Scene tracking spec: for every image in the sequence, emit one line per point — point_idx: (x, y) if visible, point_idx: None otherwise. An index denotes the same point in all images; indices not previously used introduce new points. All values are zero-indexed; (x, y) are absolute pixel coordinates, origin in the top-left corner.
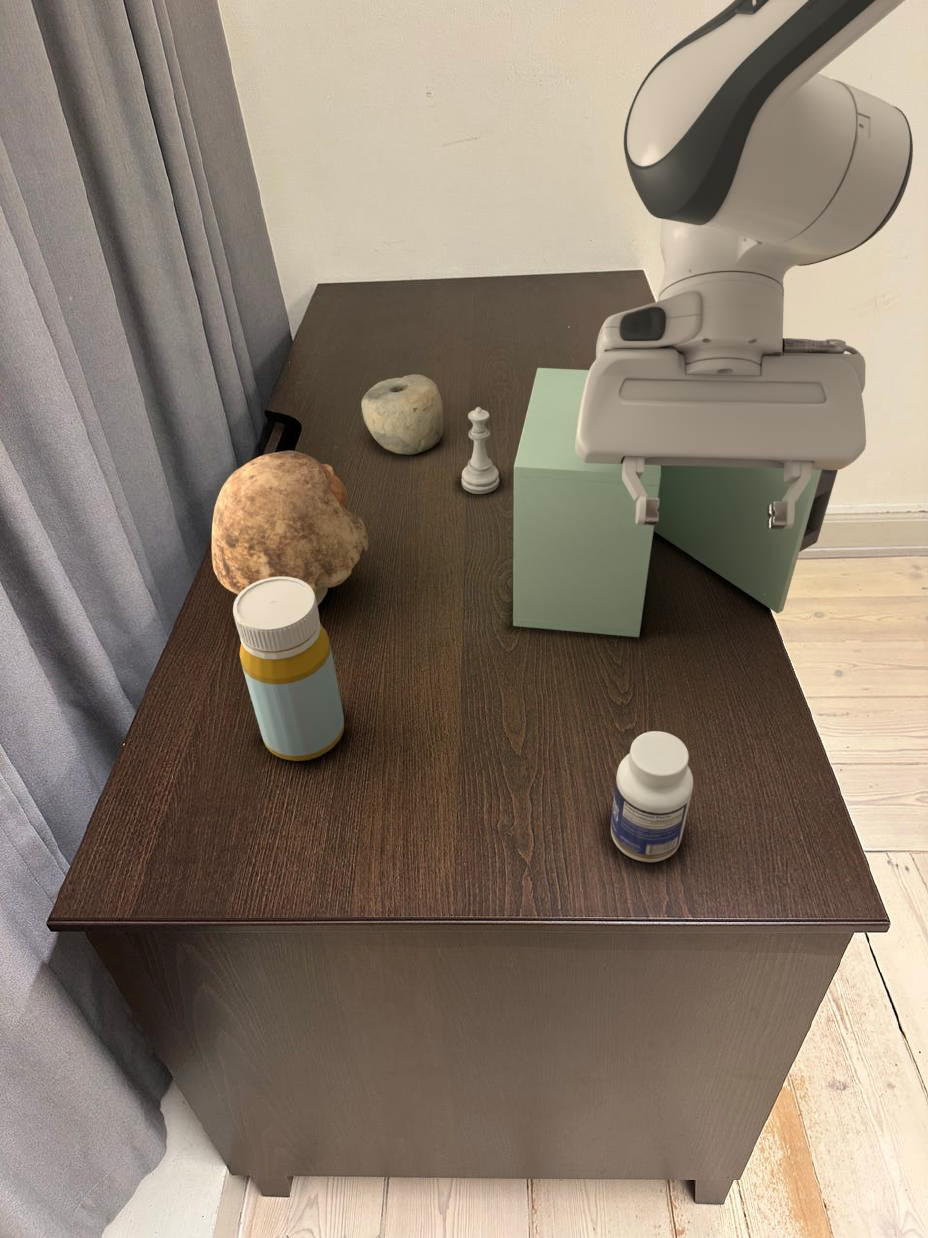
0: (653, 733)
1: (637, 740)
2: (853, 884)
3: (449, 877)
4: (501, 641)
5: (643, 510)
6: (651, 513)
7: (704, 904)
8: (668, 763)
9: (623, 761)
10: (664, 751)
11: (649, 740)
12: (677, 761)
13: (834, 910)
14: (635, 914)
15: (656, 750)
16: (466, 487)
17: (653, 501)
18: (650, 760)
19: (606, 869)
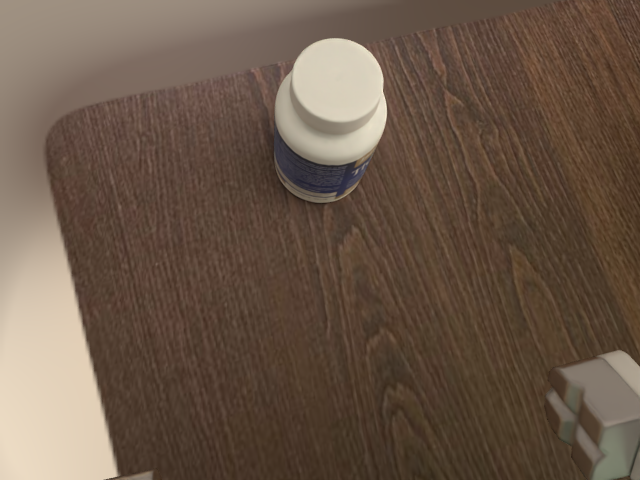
0: (354, 112)
1: (376, 93)
2: (57, 154)
3: (524, 53)
4: None
5: (626, 372)
6: (592, 374)
7: (237, 87)
8: (321, 60)
9: (383, 114)
10: (330, 82)
11: (357, 98)
12: (308, 67)
13: (84, 114)
14: None
15: (343, 81)
16: None
17: (616, 408)
18: (349, 61)
19: None
